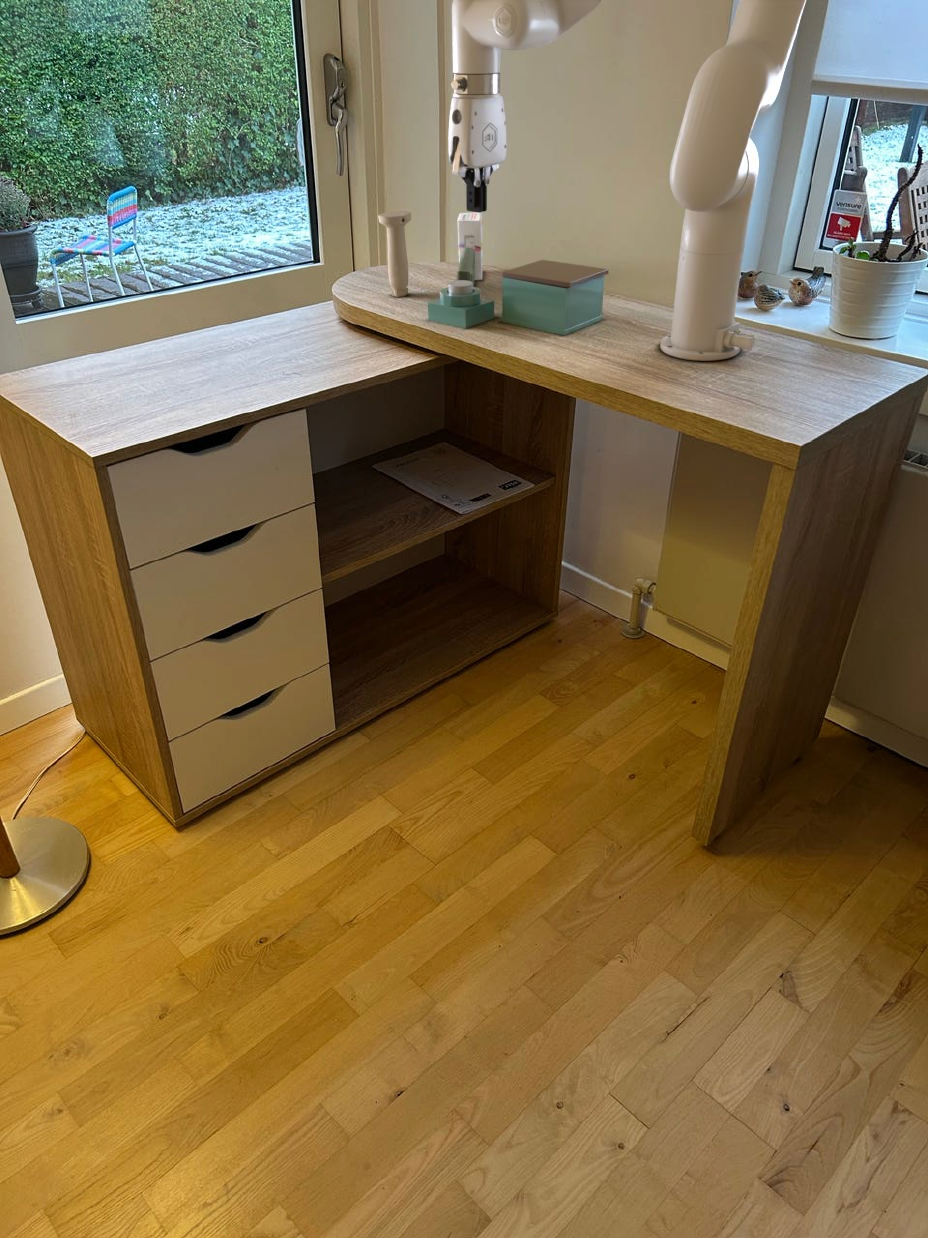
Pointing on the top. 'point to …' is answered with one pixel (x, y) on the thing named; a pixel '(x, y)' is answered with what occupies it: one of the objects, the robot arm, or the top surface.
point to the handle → (397, 250)
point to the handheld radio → (467, 265)
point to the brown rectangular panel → (555, 273)
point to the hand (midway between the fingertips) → (476, 210)
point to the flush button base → (461, 309)
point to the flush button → (460, 287)
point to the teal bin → (552, 305)
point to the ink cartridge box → (471, 238)
